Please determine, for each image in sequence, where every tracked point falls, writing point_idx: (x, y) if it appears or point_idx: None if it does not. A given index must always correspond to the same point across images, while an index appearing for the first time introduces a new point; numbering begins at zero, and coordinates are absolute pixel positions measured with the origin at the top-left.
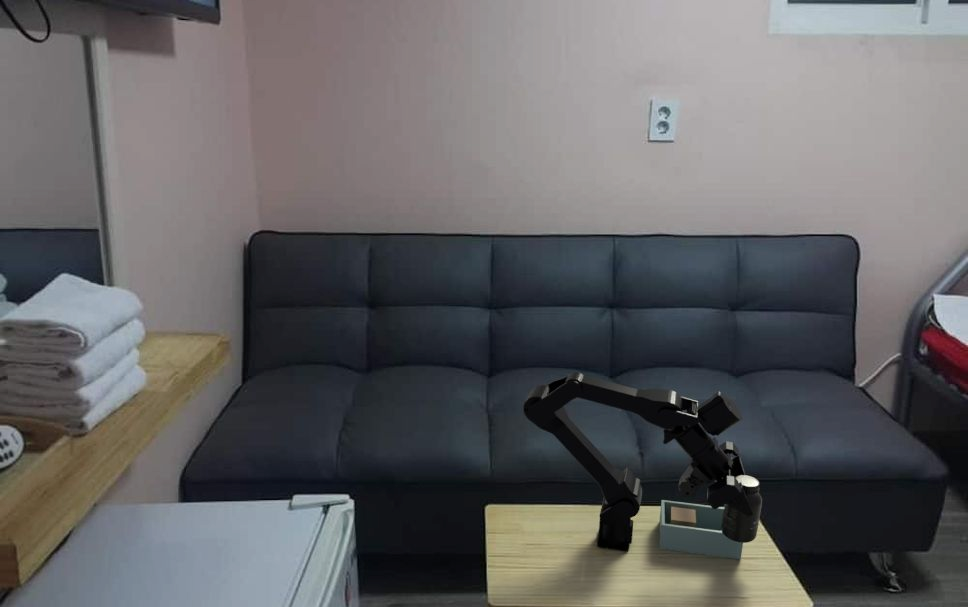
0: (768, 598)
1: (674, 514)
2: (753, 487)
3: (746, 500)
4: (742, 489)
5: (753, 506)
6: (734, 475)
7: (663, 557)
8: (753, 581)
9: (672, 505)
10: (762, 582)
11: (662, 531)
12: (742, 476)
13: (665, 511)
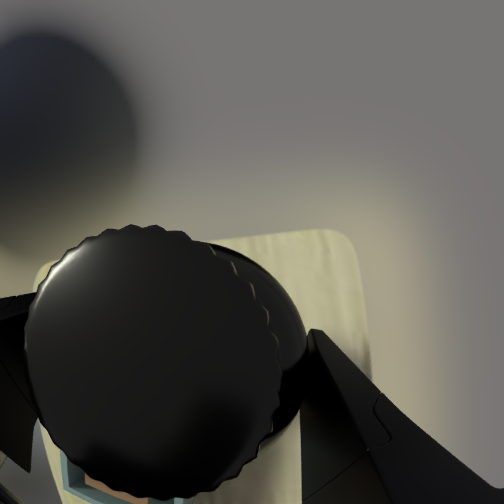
0: (363, 295)
1: (120, 492)
2: (265, 327)
3: (389, 405)
4: (496, 489)
5: (303, 325)
6: (11, 386)
7: (228, 499)
8: (306, 317)
9: (72, 468)
10: (307, 296)
11: None
12: (48, 381)
13: (82, 474)
